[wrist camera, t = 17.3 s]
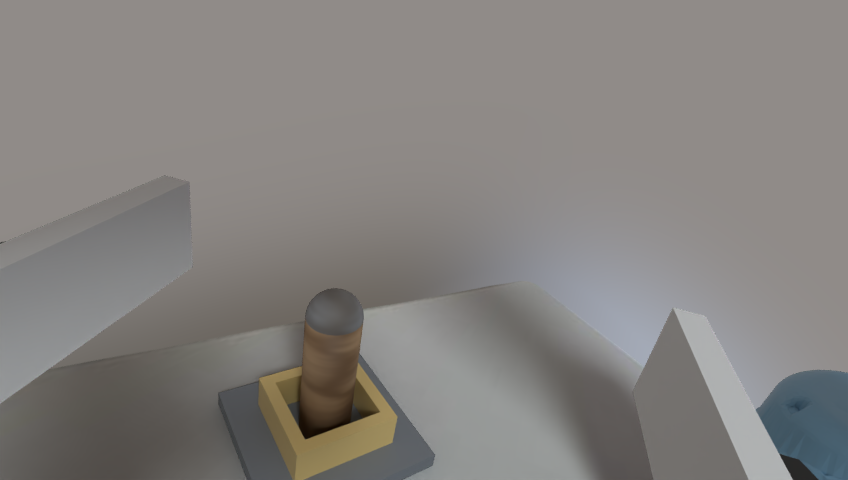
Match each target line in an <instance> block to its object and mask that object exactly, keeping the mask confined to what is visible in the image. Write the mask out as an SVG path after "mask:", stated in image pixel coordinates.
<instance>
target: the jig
mask: <svg viewBox="0 0 848 480" xmlns="http://www.w3.org/2000/svg"><path fill="white" fill-rule="evenodd" d="M301 378H302V366H300V367H297V368H293V369H290V370H286V371H282V372H279V373H275V374H272V375H268V376H265V377H261V378H259V382H256V383H252V384H249V385H245V386H242V387H238V388H235V389H231V390H227V391H224V392H220V393H218V397H219V406H220V409H221V412H222V414H223V417H224V420H225V422H226V425H227V427H228V430H229V433H230V435H231V438H232V441H233V443H234V446H235V449H236V451H237V454H238V457H239V459H240V462H241V464H242V467H243V470H244V472H245V475H246V478H247V480H403V479H405V478H407V477H409V476H411V475H413V474H415V473H418V472H420V471H422V470H424V469H426V468H428V467H430V466H432V465H433V461H434V457H435V454H434V453H433V451H432V450H431V449H430V447H429V446H428V445H427V443H426V442H425V441H424V439H423V438H422V437H421V435H420V434H419V433H418V431H417V430H416V429H415V427H414V426H413V425H412V423H411V422H410V421H409V419H408V418H407V417H406V415H405V414H404V413H403V411H402V410H401V408H400V407H399V406H398V404H397V403H396V402H395V400H394V399H393V398H392V396H391V395H390V394H389V392H388V391H387V390H386V388H385V387H384V386H383V384H382V383H381V382H380V380H379V379H378V378H377V376H376V375H375V374H374V372H373V371H372V370H371V368H370V367H369V366H368V364H367V363H366V361H365V360H364V359H363V357H362V356H361V355H360V353H359V359H358V367H357V374H356V382H355V390H354V398H353V406H352V413H351V421H350V423H349V424H347V425H344V426H341V427H338V428H336V429H333V430H330V431H328V432H325V433H322V434H319V435H317V436H314V437H311V438H309V439H305V438H304V437H303V435H302V433H301V431H300V429H299V410H300V394H301Z"/></svg>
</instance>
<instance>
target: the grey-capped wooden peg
mask: <svg viewBox="0 0 848 480" xmlns="http://www.w3.org/2000/svg"><path fill="white" fill-rule="evenodd" d="M363 320H364V314H363V309H362V306H361V304H360V302H359V300H358V299H357V298H356V297H355V296H354V295H353V294H352V293H350V292H348V291H346V290H343V289H337V288H335V289H327V290H324V291H322V292H320V293H319V294H317V295H316V296H315V297H314V298H313V299H312V300H311V302H310V303H309V305H308V307H307V310H306V315H305V329H304V345H303V362H302V378H301V394H300V410H299V429H300V431H301V433H302V435H303V437H304V438H305V439H309V438H311V437H314V436H317V435H319V434H322V433H325V432H328V431H330V430H333V429H336V428H338V427H341V426H344V425H347V424H349V423H350V421H351V413H352V406H353V398H354V390H355V382H356V374H357V367H358V359H359V351H360V343H361V335H362V328H363Z"/></svg>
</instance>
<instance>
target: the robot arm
mask: <svg viewBox="0 0 848 480" xmlns="http://www.w3.org/2000/svg"><path fill="white" fill-rule="evenodd" d="M189 187H190V186H189V182H188V181H184V180H180V179H176V178H173V177H168V176H162V177H160V178H157V179H155V180H153V181H150V182H148V183H145V184H143V185H141V186H138V187H136V188H133V189H131V190H128V191H126V192H124V193H121V194H119V195H117V196H114V197H112V198H109V199H107V200H104V201H102V202H100V203H97V204H95V205H93V206H90V207H88V208H86V209H83V210H81V211H78V212H76V213H73V214H71V215H68V216H66V217H64V218H61V219H59V220H56V221H54V222H52V223H49V224H47V225H44V226H42V227H40V228H37V229H35V230H33V231H30V232H27V233H25V234H23V235H20V236H18V237H15V238H13V239H11V240H8V241H5V242H1V243H0V403H2V402H3V401H4V400H6V399H7V398H9V397H10V396H11V395H13V394H14V393H16V392H17V391H18V390H20V389H21V388H23V387H24V386H26V385H27V384H28V383H30V382H31V381H33V380H34V379H35V378H37V377H38V376H40V375H41V374H42V373H44V372H45V371H47V370H48V369H50V368H51V367H52V366H54V365H55V364H57V363H58V362H59V361H61V360H62V359H64V358H65V357H66V356H68V355H69V354H71V353H72V352H73V351H75V350H76V349H78V348H79V347H81V346H82V345H83V344H85V343H86V342H88V341H89V340H90V339H92V338H93V337H94V336H96V335H98V334H99V333H100V332H102V331H103V330H104V329H106V328H107V327H109V326H110V325H112V324H113V323H114V322H116V321H117V320H118V319H120V318H122V317H123V316H124V315H126V314H127V313H128V312H130V311H131V310H133V309H134V308H135V307H137V306H138V305H140V304H141V303H143V302H144V301H145V300H147V299H148V298H150V297H151V296H152V295H154V294H155V293H157V292H158V291H160V290H161V289H162V288H163V287H165V286H167V285H168V284H169V283H171V282H172V281H174V280H175V279H176V278H178V277H179V276H181V275H182V274H184V273H185V272H186V271H188V270H189V269H191V268H192V267H193V260H192V237H191V236H192V235H191V212H190V190H189V189H190V188H189ZM633 395H634V399H635V404H636V408H637V412H638V417H639V421H640V425H641V430H642V434H643V438H644V442H645V447H646V451H647V455H648V460H649V464H650V468H651V472H652V477H653V480H848V373H845V372H839V371H831V370H811V371H804V372H799V373H796V374H793V375H791V376H788V377H787V378H785V379H783V380H782V381H781V382H780V383H779V384H778V385H777V386H776V387H775V388H774V390H773V391H772V392H771V393H770V395H769V396H768V397H767V399H766V400H765V401H764V403H763V404H762V405H761V406H760V407H759V408H757V409H756V410H755V408H754V406H753V404H752V402H751V401H750V399H749V397H748V395H747V393H746V391H745V389H744V388H743V386H742V384H741V382H740V380H739V378H738V376H737V374H736V373H735V371H734V369H733V367H732V365H731V364H730V361H729V359H728V358H727V356H726V354H725V352H724V350H723V348H722V346H721V345H720V343H719V341H718V339H717V337H716V335H715V333H714V331H713V329H712V328H711V326H710V324H709V322H708V320H707V318H706V316H703V315H700V314H696V313H692V312H688V311H684V310H680V309H677V308H673V309H672V311H671V313H670V315H669V317H668V319H667V321H666V323H665V325H664V327H663V329H662V332H661V334H660V336H659V338H658V340H657V342H656V344H655V346H654V348H653V350H652V352H651V354H650V357H649V359H648V361H647V363H646V365H645V367H644V369H643V371H642V373H641V375H640V377H639V379H638V382H637V384H636V386H635V388H634V390H633Z"/></svg>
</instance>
